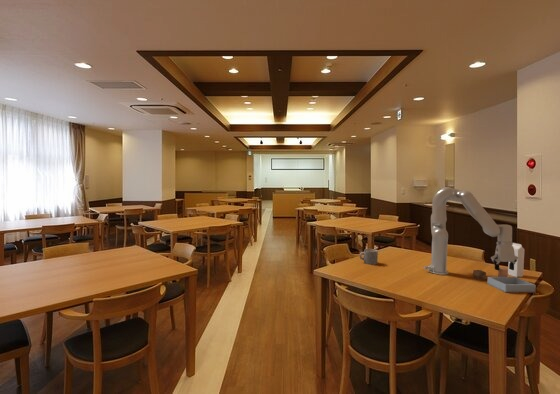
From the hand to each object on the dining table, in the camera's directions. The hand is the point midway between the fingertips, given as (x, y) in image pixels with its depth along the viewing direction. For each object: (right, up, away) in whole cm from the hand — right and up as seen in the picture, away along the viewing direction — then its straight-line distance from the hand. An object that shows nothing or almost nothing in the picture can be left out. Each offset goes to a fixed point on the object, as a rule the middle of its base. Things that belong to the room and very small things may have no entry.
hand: (504, 269), depth 195 cm
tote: (-8, -7, -16) cm, 19 cm away
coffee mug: (-77, -4, +38) cm, 86 cm away
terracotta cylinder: (-1, -7, +1) cm, 7 cm away
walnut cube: (-15, -6, +2) cm, 16 cm away
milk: (+15, -7, +10) cm, 19 cm away
